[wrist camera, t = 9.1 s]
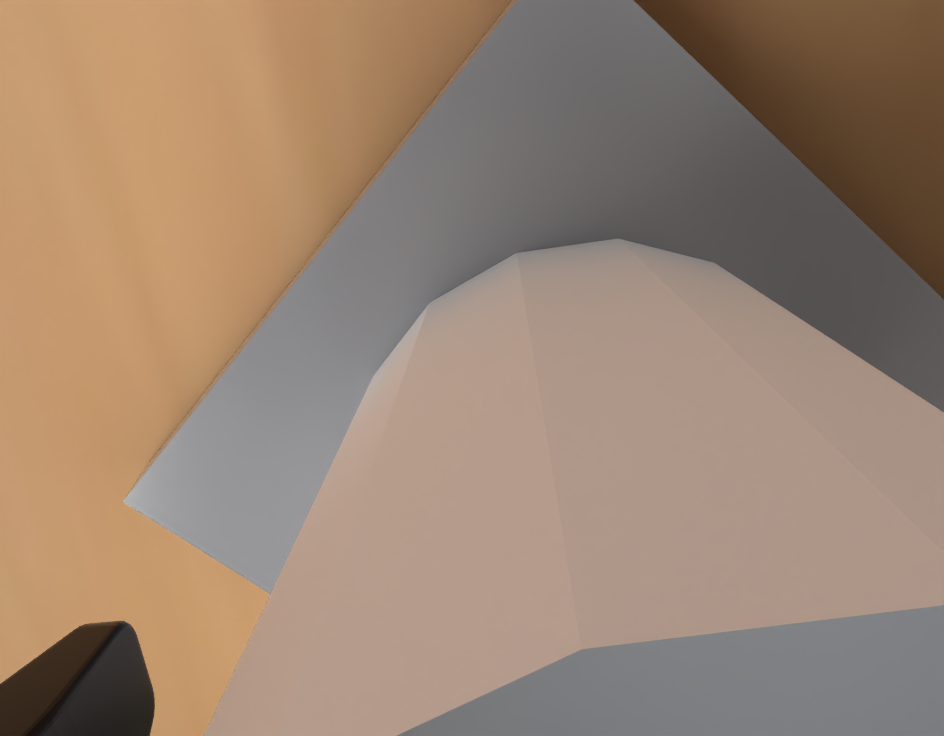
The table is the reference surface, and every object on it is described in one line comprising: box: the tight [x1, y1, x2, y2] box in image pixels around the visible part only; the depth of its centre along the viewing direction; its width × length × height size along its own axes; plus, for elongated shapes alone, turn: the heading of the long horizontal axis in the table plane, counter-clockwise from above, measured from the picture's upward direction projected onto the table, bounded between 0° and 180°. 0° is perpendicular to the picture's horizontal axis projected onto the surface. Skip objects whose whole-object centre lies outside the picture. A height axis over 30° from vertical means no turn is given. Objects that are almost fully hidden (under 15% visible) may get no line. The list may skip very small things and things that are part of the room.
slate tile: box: [123, 0, 944, 594], centre depth 11 cm, size 8×8×1 cm
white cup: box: [204, 239, 944, 736], centre depth 7 cm, size 7×7×7 cm
